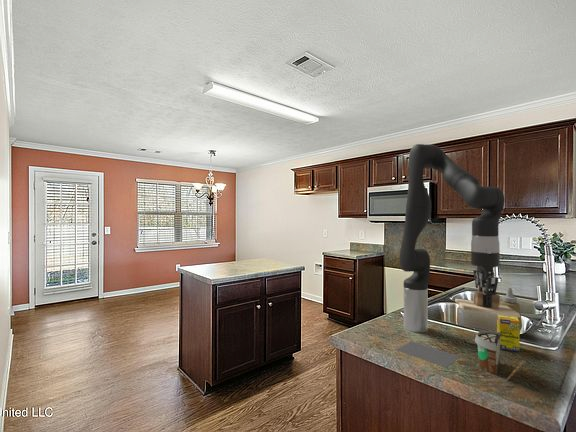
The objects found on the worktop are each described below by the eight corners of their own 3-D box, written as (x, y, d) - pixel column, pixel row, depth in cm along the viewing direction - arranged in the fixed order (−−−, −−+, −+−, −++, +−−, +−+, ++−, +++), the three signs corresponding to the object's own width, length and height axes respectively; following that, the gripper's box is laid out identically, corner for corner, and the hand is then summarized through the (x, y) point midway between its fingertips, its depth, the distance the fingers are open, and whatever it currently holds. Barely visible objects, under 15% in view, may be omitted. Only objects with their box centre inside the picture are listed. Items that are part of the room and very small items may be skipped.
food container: (478, 357, 104) (478, 327, 104) (500, 362, 101) (500, 331, 100) (471, 371, 95) (471, 338, 95) (495, 378, 91) (495, 344, 91)
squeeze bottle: (495, 333, 126) (495, 288, 125) (500, 327, 131) (500, 284, 131) (520, 338, 120) (520, 291, 120) (523, 332, 126) (524, 287, 126)
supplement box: (499, 349, 110) (499, 318, 110) (496, 343, 116) (496, 313, 116) (520, 352, 108) (520, 321, 108) (516, 346, 113) (516, 316, 113)
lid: (455, 301, 104) (456, 286, 104) (506, 308, 101) (507, 293, 100) (463, 309, 95) (465, 293, 95) (519, 317, 92) (521, 300, 92)
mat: (411, 342, 117) (411, 341, 117) (460, 358, 104) (460, 356, 104) (395, 350, 110) (395, 349, 110) (446, 369, 97) (446, 367, 97)
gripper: (464, 247, 106) (464, 299, 106) (479, 252, 92) (479, 311, 92) (489, 248, 104) (489, 300, 104) (508, 253, 90) (508, 313, 90)
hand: (485, 305), depth 98 cm, fingers closed on lid, 3 cm apart
